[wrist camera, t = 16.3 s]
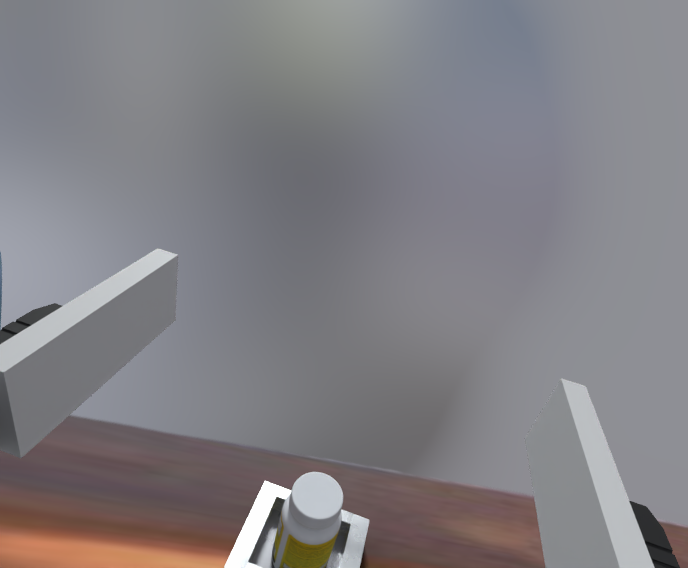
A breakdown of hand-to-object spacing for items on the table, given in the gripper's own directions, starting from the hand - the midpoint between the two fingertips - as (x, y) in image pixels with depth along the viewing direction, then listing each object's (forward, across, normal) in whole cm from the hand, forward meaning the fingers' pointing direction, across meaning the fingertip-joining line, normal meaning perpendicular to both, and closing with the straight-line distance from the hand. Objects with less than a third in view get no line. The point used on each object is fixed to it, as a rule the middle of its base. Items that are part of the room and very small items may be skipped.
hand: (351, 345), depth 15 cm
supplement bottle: (+10, 0, -30) cm, 31 cm away
